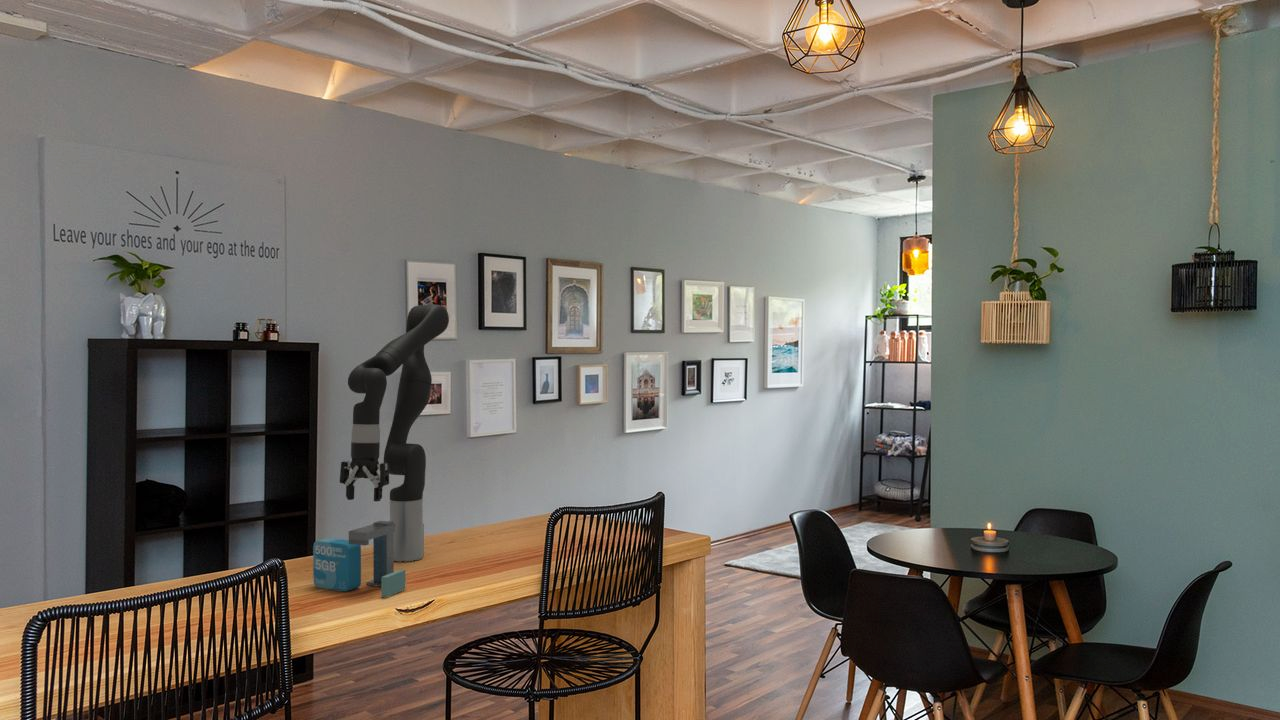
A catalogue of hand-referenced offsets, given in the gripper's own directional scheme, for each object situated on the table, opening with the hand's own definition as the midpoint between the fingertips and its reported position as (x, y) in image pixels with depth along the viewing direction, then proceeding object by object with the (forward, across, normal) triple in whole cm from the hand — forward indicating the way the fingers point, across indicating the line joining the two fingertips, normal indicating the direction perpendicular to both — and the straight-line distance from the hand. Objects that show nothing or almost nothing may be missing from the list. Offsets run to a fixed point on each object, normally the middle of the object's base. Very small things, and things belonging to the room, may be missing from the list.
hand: (363, 500), depth 255 cm
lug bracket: (+20, -14, +14) cm, 28 cm away
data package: (+20, -5, +17) cm, 27 cm away
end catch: (+20, -21, +17) cm, 34 cm away
